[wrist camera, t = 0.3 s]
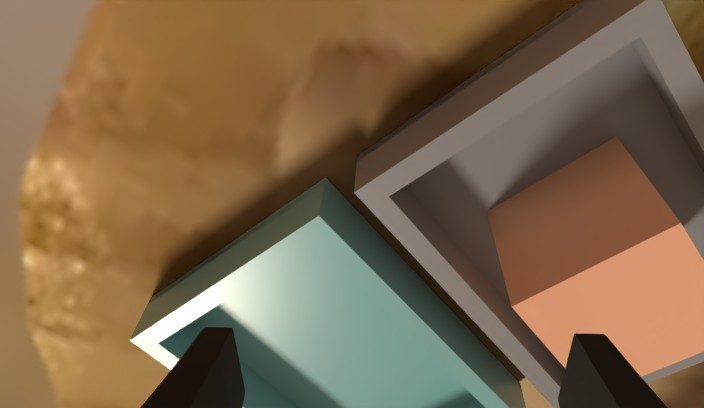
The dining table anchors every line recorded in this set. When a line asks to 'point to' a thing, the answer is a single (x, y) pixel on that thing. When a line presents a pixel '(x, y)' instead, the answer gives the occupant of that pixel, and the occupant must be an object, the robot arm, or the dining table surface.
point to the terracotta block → (602, 261)
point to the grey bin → (540, 153)
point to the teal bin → (327, 318)
